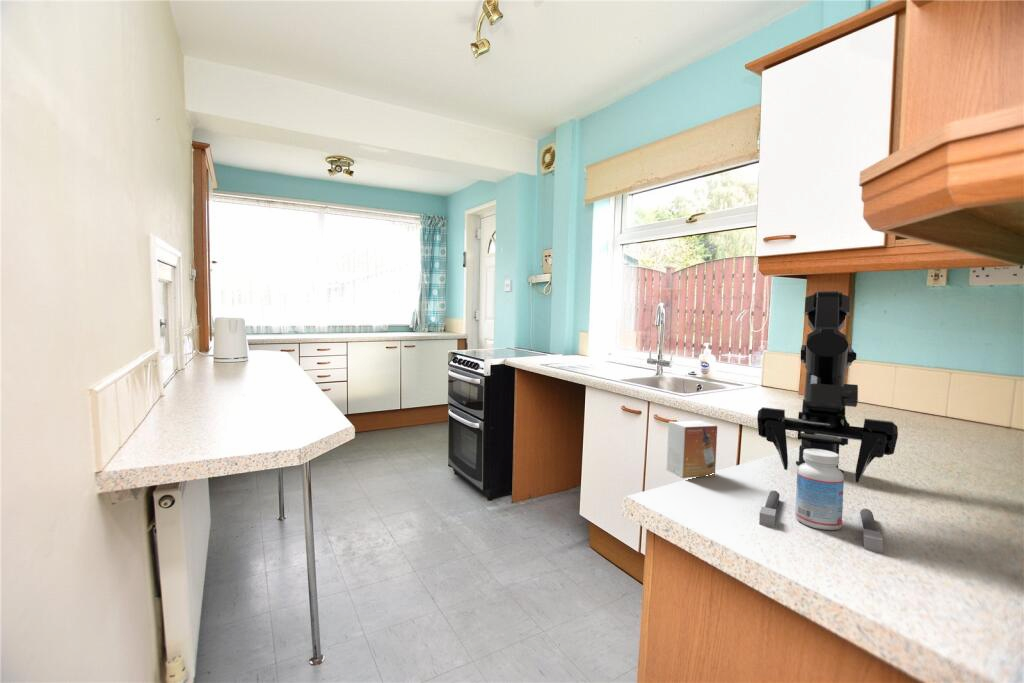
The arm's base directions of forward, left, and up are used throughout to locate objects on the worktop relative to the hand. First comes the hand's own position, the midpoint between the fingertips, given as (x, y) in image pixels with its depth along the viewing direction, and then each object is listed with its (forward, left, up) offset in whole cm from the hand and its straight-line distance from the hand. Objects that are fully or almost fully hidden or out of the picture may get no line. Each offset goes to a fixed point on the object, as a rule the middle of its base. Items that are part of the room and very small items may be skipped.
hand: (820, 474), depth 71 cm
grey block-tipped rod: (+5, -5, -8) cm, 10 cm away
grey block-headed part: (-6, +3, -8) cm, 10 cm away
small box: (+10, -23, -8) cm, 27 cm away
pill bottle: (0, 0, -8) cm, 8 cm away
